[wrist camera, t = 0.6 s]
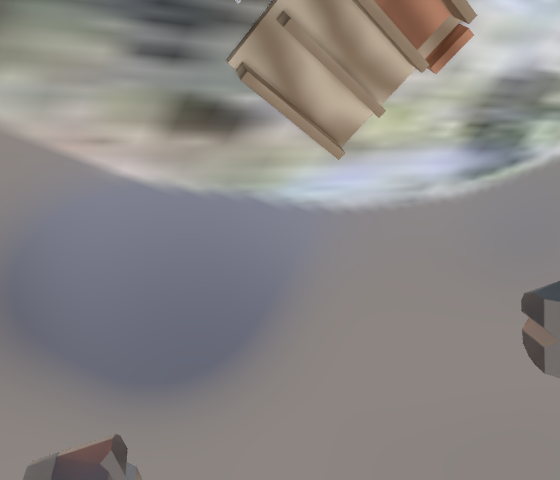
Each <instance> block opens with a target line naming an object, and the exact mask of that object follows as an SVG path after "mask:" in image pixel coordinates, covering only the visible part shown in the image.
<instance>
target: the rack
mask: <svg viewBox="0 0 560 480" xmlns="http://www.w3.org/2000/svg"><path fill="white" fill-rule="evenodd" d="M476 16H477V15H476V13H475V12H474V10H473V9H472V8H471V6H470V5H469V4H468V2H467V1H466V0H273V2H272V3H271V4H270V5H269V7H268V8H267V9H266V11H265V12H264V13H263V14H262V16H261V17H260V18H259V19H258V21H257V22H256V23H255V25H254V26H253V27H252V28H251V30H250V31H249V32H248V33H247V35H246V36H245V37H244V38H243V40H242V41H241V42H240V44H239V45H238V46H237V47H236V49H235V50H234V51H233V52H232V54H231V55H230V56H229V57H228V59H227V62H228V64H230V65H231V66H232V67H233V68H234V69H236V71H237V73H238V75H239V77H240V79H241V80H242V81H243V82H244V83H245V84H246V85H248V86H249V87H250V88H251V89H253V90H254V91H255V92H256V93H257V94H259V95H260V96H261V97H262V98H264V99H265V100H266V101H267V102H268V103H270V104H271V105H272V106H273V107H275V108H276V109H277V110H278V111H279V112H281V113H282V114H283V115H284V116H286V117H287V118H288V119H289V120H291V121H292V122H293V123H294V124H295V125H297V126H298V127H299V128H300V129H302V130H303V131H304V132H305V133H306V134H308V135H309V136H310V137H311V138H313V139H314V140H315V141H316V142H317V143H319V144H320V145H321V146H322V147H324V148H325V149H326V150H327V151H328V152H330V153H331V154H332V155H333V156H335V157H336V158H337V159H338V160H339V159H340V158H341V157H342V156H343V155H344V154H345V152H344V151H343V149H342V148H341V147H342V146H343V145H344V144H345V143H346V142H347V141H348V140H349V138H350V137H351V136H352V135H353V134H354V133H355V132H356V131H357V130H358V129H359V128H360V127H361V126H362V125H363V124H364V123H365V122H366V121H367V120H368V118H369V117H370V116H371V115H372V114H373V113H374V114H375V115H376V116H377V117H378V118H379V117H380V116H381V115H382V114H383V113H384V112H385V111H386V110H385V109H384V108H383V107H382V106H381V105H382V104H383V103H384V102H385V101H386V100H387V98H388V97H389V96H390V95H391V94H392V93H393V92H394V91H395V90H396V89H397V88H398V87H399V86H400V85H401V84H402V83H403V82H404V81H405V80H406V78H407V77H408V76H409V75H410V74H411V73H412V72H413V71H414V70H415V69H418V70H419V71H420V72H423V71H424V70H425V69H426V68H428V69H429V70H431V71H432V72H433V73H435V74H437V73H438V72H439V71H440V70H441V69H442V67H443V66H444V65H445V64H446V63H447V62H448V61H449V60H450V59H451V58H452V57H453V56H454V55H455V54H456V53H457V52H458V51H459V50H460V49H461V48H462V47H463V46H464V45H465V44H466V43H467V42H468V41H469V40H470V39H471V38H472V37H473V36H474V35H473V33H472V32H471V31H470V29H469V28H467V27H465V26H463V25H461V24H459V23H460V22H461V21H464V22H466V23H468V24H469V23H470V22H471V21H472V20H473V19H474V18H475V17H476Z"/></svg>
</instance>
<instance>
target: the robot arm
mask: <svg viewBox="0 0 560 480" xmlns="http://www.w3.org/2000/svg"><path fill="white" fill-rule="evenodd" d="M521 308H522V309H521V310H522V312H523V313H524V314H525V315H526V316H527V317H528V320H527V322H526V323H525V325H524V327H523V329H522V335H523V344H524V346H525V349H526V351H527V353H528V356H529V357H530V358H531V360H532V361H533V363H534V364H535V365H536V366H537V367H538V368H539V369H540V370H541V371H543V372H544V373H545V374H549V375H552V376H555V377H559V378H560V281H557V282H555V283H552V284H549V285H546V286H543V287H540V288H538V289H535V290H532V291H529V292H526V293H524V295H523V298H522V300H521ZM23 480H142V478H141V475H140V473H139V471H138V469H137V467H136V466H134V465H132V464H130V463H128V462H127V447H126V445H125V443H124V442H123V440H122V438H121V436H120V435H118V434H113V435H110V436H107V437H104V438H101V439H98V440H94V441H92V442H88V443H85V444H82V445H79V446H76V447H73V448H69V449H66V450H63V451H61V452H59V453H55V454H52V455H49V456H46V457H43V458H40V459H37V460H34V461H32V462H31V463H30V464H29V466H28V467H27V469H26V472H25V475H24V478H23Z"/></svg>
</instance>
